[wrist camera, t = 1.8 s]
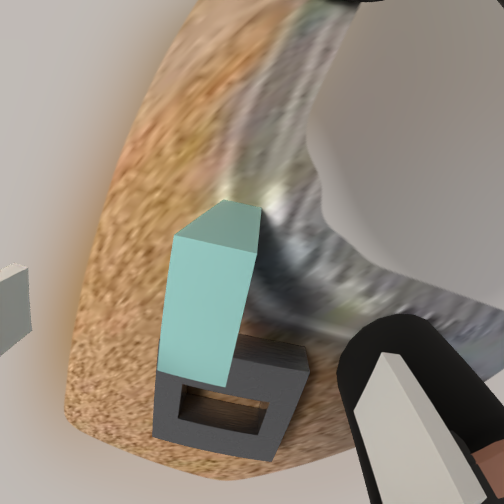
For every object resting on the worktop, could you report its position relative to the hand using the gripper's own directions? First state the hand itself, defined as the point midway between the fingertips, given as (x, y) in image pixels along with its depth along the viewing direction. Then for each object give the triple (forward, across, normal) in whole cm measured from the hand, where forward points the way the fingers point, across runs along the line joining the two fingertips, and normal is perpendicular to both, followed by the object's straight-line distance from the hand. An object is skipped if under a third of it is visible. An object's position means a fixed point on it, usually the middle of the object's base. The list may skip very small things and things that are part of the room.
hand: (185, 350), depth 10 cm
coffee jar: (+16, +17, -8) cm, 24 cm away
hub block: (+16, +2, -14) cm, 21 cm away
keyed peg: (+16, 0, 0) cm, 16 cm away
